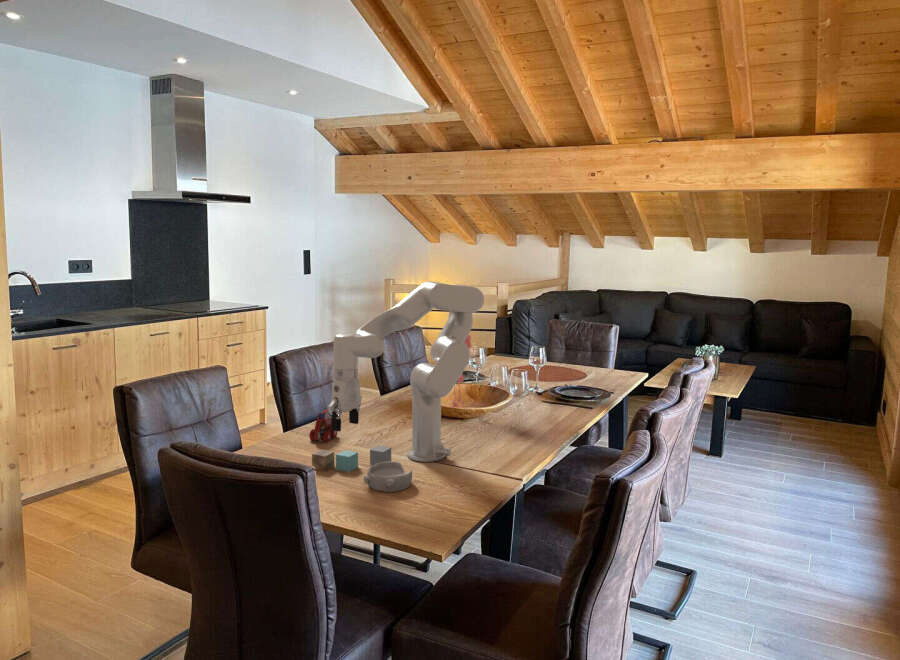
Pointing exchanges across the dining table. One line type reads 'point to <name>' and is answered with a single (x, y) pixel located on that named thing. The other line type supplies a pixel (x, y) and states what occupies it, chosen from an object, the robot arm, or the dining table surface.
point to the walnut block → (323, 460)
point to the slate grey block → (380, 454)
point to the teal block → (346, 461)
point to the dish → (388, 477)
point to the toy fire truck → (323, 428)
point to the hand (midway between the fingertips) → (345, 426)
